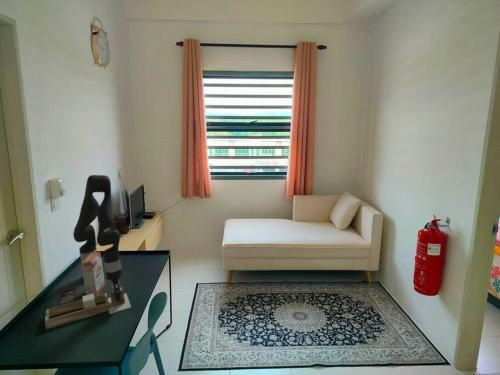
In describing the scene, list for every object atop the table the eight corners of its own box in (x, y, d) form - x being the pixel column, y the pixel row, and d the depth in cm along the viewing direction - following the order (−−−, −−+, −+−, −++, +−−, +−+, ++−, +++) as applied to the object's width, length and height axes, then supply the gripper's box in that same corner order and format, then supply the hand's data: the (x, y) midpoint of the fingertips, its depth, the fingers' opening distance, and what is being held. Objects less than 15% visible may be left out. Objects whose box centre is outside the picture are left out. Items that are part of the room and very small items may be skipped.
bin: (48, 316, 152) (46, 309, 152) (107, 299, 165) (106, 292, 164) (46, 329, 142) (44, 321, 141) (109, 310, 155) (108, 302, 154)
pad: (106, 299, 165) (106, 298, 165) (126, 294, 170) (126, 293, 170) (109, 314, 151) (109, 313, 151) (131, 307, 156) (130, 306, 156)
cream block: (84, 308, 157) (82, 296, 156) (95, 305, 160) (93, 293, 159) (85, 314, 152) (82, 301, 151) (96, 311, 155) (94, 298, 153)
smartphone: (77, 288, 178) (74, 301, 165) (77, 290, 178) (74, 302, 165) (62, 292, 175) (58, 305, 162) (62, 293, 176) (58, 306, 162)
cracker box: (98, 297, 168) (92, 261, 164) (86, 299, 167) (80, 262, 163) (106, 285, 181) (100, 251, 178) (95, 286, 181) (89, 252, 177)
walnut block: (123, 298, 164) (121, 286, 163) (125, 302, 160) (123, 290, 158) (111, 302, 161) (109, 289, 160) (112, 306, 157) (110, 293, 155)
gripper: (123, 271, 153) (127, 301, 156) (119, 261, 165) (123, 289, 168) (106, 275, 149) (111, 306, 152) (103, 265, 161) (108, 294, 164)
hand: (117, 297), depth 160 cm, fingers open, 8 cm apart
